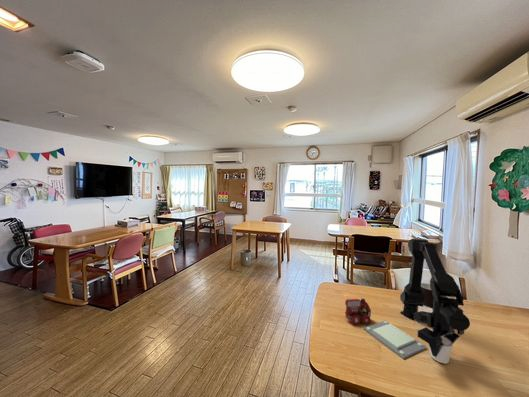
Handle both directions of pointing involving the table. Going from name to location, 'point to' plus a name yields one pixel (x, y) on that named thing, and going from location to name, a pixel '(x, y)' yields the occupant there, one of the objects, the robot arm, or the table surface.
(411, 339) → the baseplate
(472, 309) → the table surface
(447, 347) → the shot glass
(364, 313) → the toy fire truck
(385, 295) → the table surface
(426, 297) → the coffee mug
